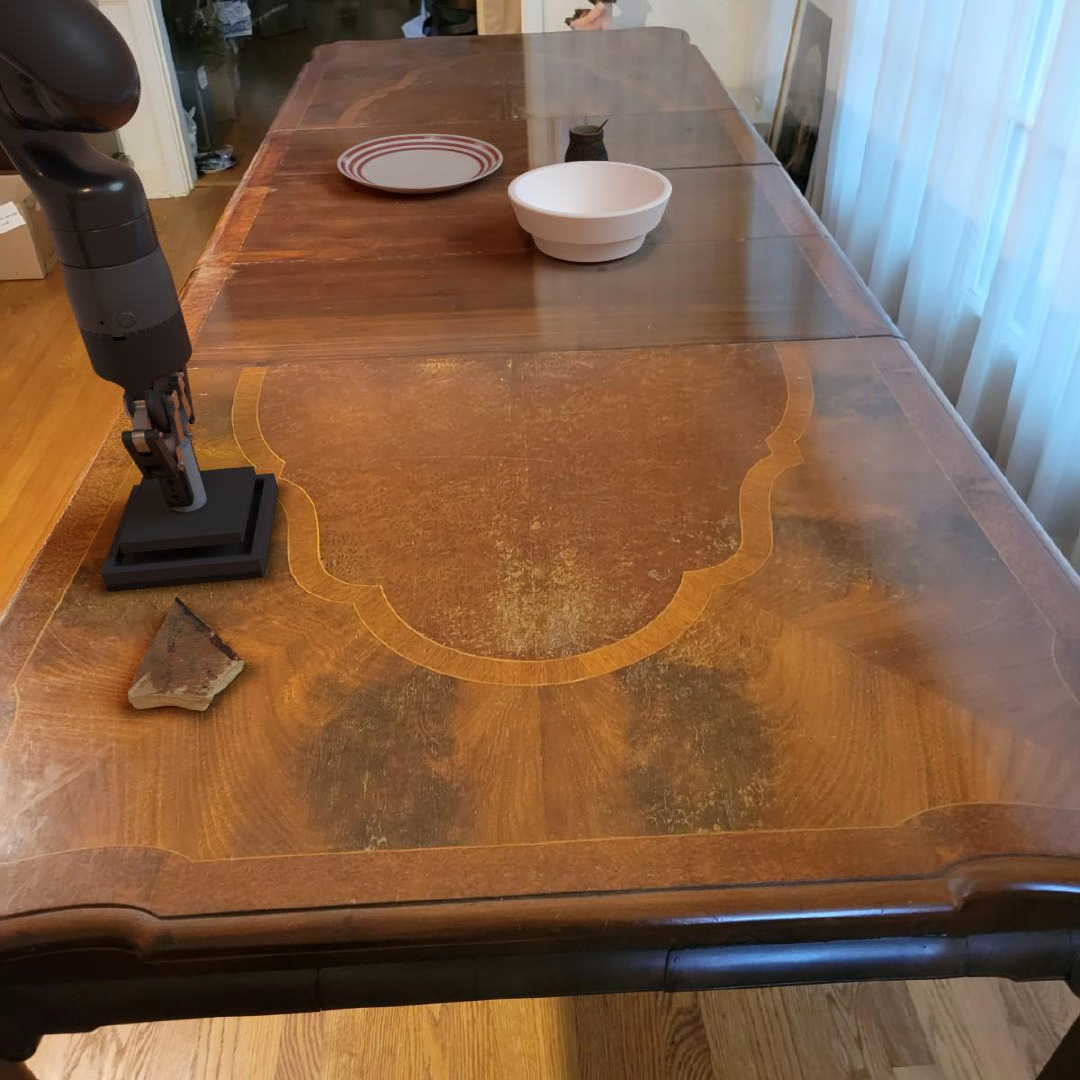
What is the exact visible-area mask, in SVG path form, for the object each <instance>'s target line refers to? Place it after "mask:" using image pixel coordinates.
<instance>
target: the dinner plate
mask: <svg viewBox="0 0 1080 1080" xmlns="http://www.w3.org/2000/svg"><path fill="white" fill-rule="evenodd" d="M503 161H504V157H503V153H502V152H501V151H500V150H499V149H498V148H497V147H496V146H494V145H493V144H491V143H489V142H486V141H484V140H482V139H478V138H473V137H469V136H463V135H457V134H448V133H447V134H445V133H408V134H397V135H391V136H383V137H378V138H375V139H370V140H368V141H365V142H364V141H363V142H361V143H359V144H356V145H354V146H352V147H350V148H348V149H346V150H345V151H344V152H343V153H342V154H340V156H339V157H338V158H337V161H336V167H337V169H338V171H339V172H340V173H341V174H342V175H344V176H345V177H346V178H347V179H349V180H352V181H353V182H356V183H358V184H360V185H362V186H366V187H370V188H374V189H377V190H381V191H384V192H387V193H394V194H402V195H403V194H404V195H425V194H426V195H427V194H437V193H442V192H447V191H451V190H455V189H458V188H461V187H463V186H466V185H467V184H471V183H473V182H476V181H478V180H480V179H483V178H485V177H487V176H488V175H490V174H493V173H494V172H495V171H497V170H498V169H499V168H500V167H501V166H502V164H503Z"/></svg>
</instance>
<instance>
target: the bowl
mask: <svg viewBox="0 0 1080 1080" xmlns="http://www.w3.org/2000/svg"><path fill="white" fill-rule="evenodd" d="M608 161H609V160H608ZM608 161H578V162H567V163H565V162H559V163H554V164H548V165H544V166H541V167H537V168H534V169H531V170H528V171H526V172H524V173H522V174H520V175H518V176H517V177H515V178H514V179H513V180H512V181H511V182H510V183H509V185H508V187H507V196H508V199H509V201H510V204H511V207H512V209H513V211H514V214H515V217H516V220H517V223H518V224H519V225H520V227H521V228H522V229H524V231H525V232H527V233H528V234H531V236H532V239H533V241H534V243H535V246H536V248H537V249H538V250H540V252H542V253H544V254H545V255H547V256H550V257H552V258H555V259H559V260H564V261H569V262H579V263H597V262H607V261H612V260H613V261H614V260H616V259H620V258H623V257H627V256H629V255H631V254H634V253H636V252H637V251H638V250H639V249H641V247H642V246H643V244H644V242H645V239H646V237H647V234H648V233H649V232H652V230H654V229H655V228H656V227H657V226H658V225H659V224H660V222H661V220H662V218H663V216H664V213H665V210H666V208H667V206H668V203H669V201H670V198H671V195H672V192H673V186H672V184H671V182H670V180H669V179H668V178H667V177H666V176H665V175H663V174H661V173H660V172H658V171H656V170H653V169H650V168H648V167H645V166H641V165H637V164H634V163H633V164H632V163H625V162H618V161H609V162H608Z"/></svg>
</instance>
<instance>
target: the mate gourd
mask: <svg viewBox="0 0 1080 1080" xmlns="http://www.w3.org/2000/svg"><path fill="white" fill-rule="evenodd" d="M609 119H610V118H607V119H605V120H604V121H603V122H602V124H601V125H596V124H577V125H573V126H572V127H570V128H569V129H568V138H569V141H568V146H567V148H566V150H565V154H564V162H563V163H567V162H578V161H608V162H610V161H609V154H608V151H607V149H606V146H605V143H604V133H605V131H604V126H605V125H606V124H607V123H608V121H609Z"/></svg>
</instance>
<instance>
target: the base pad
mask: <svg viewBox="0 0 1080 1080" xmlns="http://www.w3.org/2000/svg"><path fill="white" fill-rule="evenodd" d="M139 485H140V484H133V485H132V487H131V490H130V493H129V496H128V498H127V501H126V504H125V506H124V509H123V511H122V514H121V517H120V520H119V522H118V525H117V528H116V531H115V533H114V536H113V539H112V541H111V544H110V547H109V549H108V553H107V555H106V556H105V557H106V558H105V560H104V563H103V566H102V568H101V572H100V576H101V578H102V582H103V583H104V586H105V588H106V591H107V592H119V591H127V590H138V589H148V588H149V589H151V588H160V587H161V588H163V587H173V586H182V585H191V584H203V583H214V582H215V583H216V582H225V581H236V580H246V579H248V580H249V579H257V578H264V576H265V571H266V565H267V559H268V553H269V547H270V541H271V535H272V529H273V525H274V524H273V523H274V518H275V511H276V507H277V506H276V505H277V499H278V493H279V487H278V483H277V479H276V475H275V473H274V472H270V473H269V472H268V473H256V480H255V485H254V490H253V495H252V500H251V505H250V510H249V515H248V520H247V525H246V530H245V535H244V540H243V543H234V544H223V545H212V546H201V547H190V548H179V549H168V550H157V551H146V552H136V553H125V554H123V553H122V551H121V548H120V546H119V540H120V538H121V535H122V532H123V529H124V526H125V524H126V521H127V518H128V515H129V513H130V510H131V507H132V504H133V502H134V499H135V496H136V493H137V490H138V488H139Z"/></svg>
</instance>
